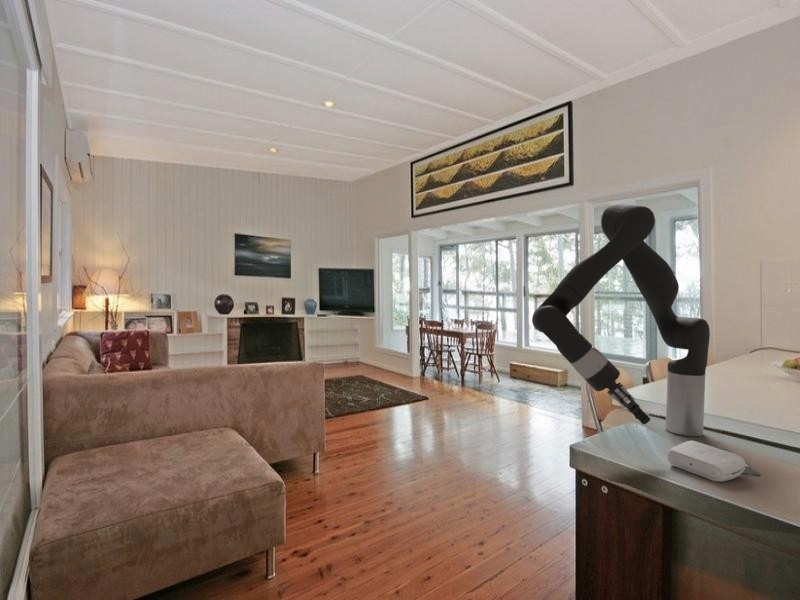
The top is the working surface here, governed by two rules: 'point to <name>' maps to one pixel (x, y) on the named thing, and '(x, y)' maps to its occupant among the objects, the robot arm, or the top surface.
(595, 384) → the robot arm
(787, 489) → the top surface
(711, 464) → the photo printer
